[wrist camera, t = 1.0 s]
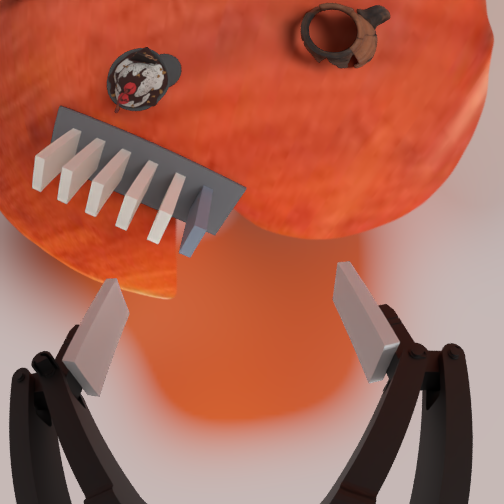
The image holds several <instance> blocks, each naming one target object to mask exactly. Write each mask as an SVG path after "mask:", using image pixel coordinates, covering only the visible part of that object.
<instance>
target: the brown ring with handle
mask: <svg viewBox="0 0 504 504" xmlns="http://www.w3.org/2000/svg"><path fill="white" fill-rule="evenodd" d="M325 10H339V11H342V12H344V13H346V14H347V15H349V16H350V17H351V18H352V19H353V20H354V22H355V24H356V26H357V37H356V40H355V42H354V43H353V44H352V45H351V46H350V47H349V48H348V49H346V50H344V51H341V52H327V51H323V50H321V49H320V48H318V47H317V46H316V45H315V44H314V43H313V42H312V40H311V38H310V35H309V25H310V23H311V20H312V19H313V17H314V15H316V14H317V13H319V12H321V11H325ZM388 19H390V13H389V11H388V10H386V9H385V8H384V7H383V6H380V5H375V6H372V7H370V8H368V9H365V10H361V9H357V13H355V12H354V9H352V8H350V7H346V6H343V5H341V4H337V3H325V4H320V5H319V7H315V8H313V9H312V10H311V11H309V12H308V13H306V14H305V16H304V18H303V20H302V23H301V38H302V41H304V46H305V47H306V49H307V50H308V51H309V52H310V53H311V54H312V56H313V57H314V58H315V59H316V60H317V61H318V62H319V63H320V62H321V61H322V60H323V59H325V58H327V59H328V60H329V62H330V63H332V64H333V65H336V66H337V67H339V68H347V67H348V63H349V61H350V59H351V57H352V55H354V56H355V57H356V59H357V61H358V63H357V64H355V65H354V67H355V68H359V67H361V66H363V65H365V64H366V63H367V62H369V61H370V60H371V59H372V58H373V56H374V54H375V51H376V47H377V35H376V31H375V29H376V27H377V26H378V25H380V24H382V23H384V22H385V21H387V20H388Z"/></svg>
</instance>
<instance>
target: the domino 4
mask: <svg viewBox="0 0 504 504" xmlns="http://www.w3.org/2000/svg"><path fill="white" fill-rule="evenodd" d="M157 166H158V164H157V163H154V162H152V161H150V160H148V162H147V163H146V165H145V166H144V167H143V169H142V170H141V172H140V173H139V175H138V176H137V178H136V179H135V181H134V182H133V184H132V185H131V187H130V188H129V190H128V191H127V193H126V194H125V197H124V200H123V203H122V206H121V209H120V212H119V215H118V218H117V222H116V225H115V226H117V227H119V228H121V229H124V230H127V228H128V226H129V224H130V222H131V220H132V218H133V216H134V214H135V212H136V210H137V208H138V207H139V205H140V203H141V201H142V199H143V197H144V195H145V193H146V192H147V189H148V187H149V185H150V182H151V180H152V178H153V175H154V173H155V171H156V169H157Z"/></svg>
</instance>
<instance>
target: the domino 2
mask: <svg viewBox="0 0 504 504" xmlns="http://www.w3.org/2000/svg"><path fill="white" fill-rule="evenodd" d="M105 142H106V141H104V140H101V139H99V138H96V139H95V140H93V141H92V142H91V143H90V144H88V145H87V146H86V147H85V148H84V149H82V150H81V151H80V152H79V153H78V154H76V155H75V156H74V157H73V158H72V159H71V160H70V161H69V162H67V163H66V164H65V165H64V166H63V167H62V172H61V178H60V184H59V190H58V197H57V200H59V201H61V202H63V203H65V204H67V203H68V202H69V201H70V200H71V198H72V197H73V196H74V195H75V194H76V192H77V191H78V190H79V189H80V188H81V187H82V185H83V184H84V183H85V182H86V181H87V180H88V179H89V177H90V176H91V175H92V174H93V173H94V172H95V171H96V170H97V168H98V164H99V161H100V158H101V154H102V151H103V148H104V145H105Z"/></svg>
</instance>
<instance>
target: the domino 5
mask: <svg viewBox="0 0 504 504" xmlns="http://www.w3.org/2000/svg"><path fill="white" fill-rule="evenodd" d="M185 178H186V177H185V176H183V175H181V174H179V173H176V174H175V176H174V178H173V180H172V182H171V184H170V186H169V188H168V190H167V192H166V194H165V196H164V198H163V201H162V203H161V205H160V208H159V210H158V213H157V215H156V218H155V220H154V222H153V225H152V227H151V230H150V233H149V235H148V238H147V240H149V241H152V242H154V243H156V244H159V242H160V239H161V237H162V235H163V233H164V231H165V229H166V227H167V225H168V223H169V221H170V219H171V217H172V215H173V212H174V209H175V206H176V203H177V200H178V197H179V194H180V192H181V189H182V186H183V183H184V181H185Z"/></svg>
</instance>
